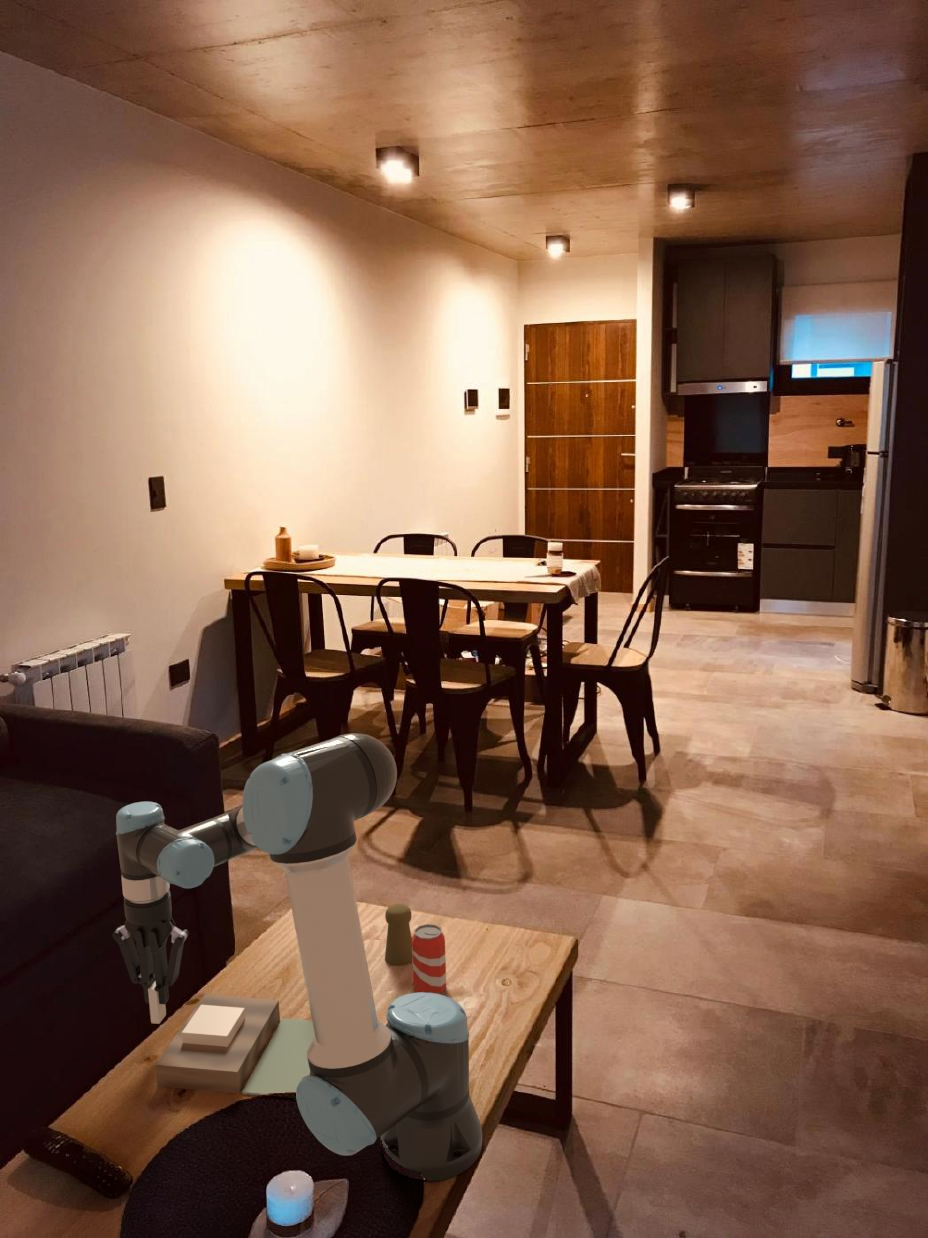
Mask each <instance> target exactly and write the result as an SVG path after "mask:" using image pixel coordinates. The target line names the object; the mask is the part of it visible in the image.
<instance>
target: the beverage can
mask: <svg viewBox="0 0 928 1238" xmlns="http://www.w3.org/2000/svg"><path fill="white" fill-rule="evenodd" d="M411 937H412V960H413V962H412V982H413V983H412V985H413V990H414V991H415V993H417V992H425V993H436V994H441V993H442V992H443V991H444V990H445V989H446V988H447V969H446V968H447V966H446V961H447V959H446V938H445V935H444V933H443V932H442V927H440V926H438V925H437V924H433V923H432V924H431V923H430V924H429V923H425V924H421V925H419V926H417V927H416V928H415V929H414V932H413V935H411Z"/></svg>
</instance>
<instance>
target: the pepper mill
mask: <svg viewBox="0 0 928 1238" xmlns="http://www.w3.org/2000/svg"><path fill="white" fill-rule="evenodd" d="M384 917H385V921H386V923H387V933H386V934H387V935H386V942H385V953H384V960H385V962H386V963H387V964H389V965H391V966H395V967H396V966H397V967H401V966H403V967H404V966H406V965H409V964H411V963H413V960H412V932H411V927H410V922H411V920H412V910H411V908H410V907H409V906H408V905H406V904H403V903H394V904H392V905H390V906H388V907H387V909H386V910H385V914H384Z"/></svg>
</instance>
